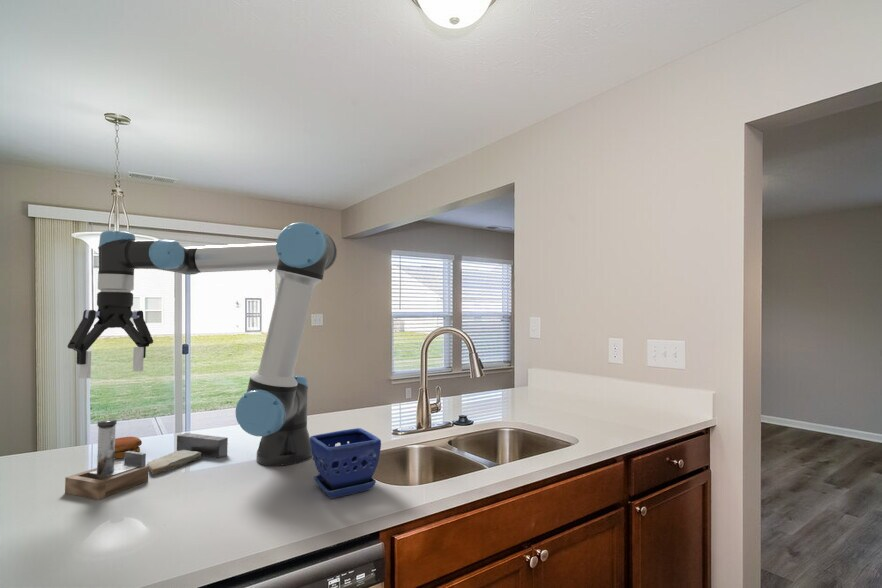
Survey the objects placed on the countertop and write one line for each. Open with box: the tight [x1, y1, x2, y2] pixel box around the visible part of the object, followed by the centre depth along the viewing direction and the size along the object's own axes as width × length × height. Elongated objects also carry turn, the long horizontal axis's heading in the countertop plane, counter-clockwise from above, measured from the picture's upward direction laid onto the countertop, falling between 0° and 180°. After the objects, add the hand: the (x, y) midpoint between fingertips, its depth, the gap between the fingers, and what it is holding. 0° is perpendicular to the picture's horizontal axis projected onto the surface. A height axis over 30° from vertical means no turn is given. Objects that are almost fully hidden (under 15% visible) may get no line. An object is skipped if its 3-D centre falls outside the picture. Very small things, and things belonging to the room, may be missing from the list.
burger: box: [114, 436, 143, 460], centre depth 129 cm, size 10×9×5 cm
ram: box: [88, 419, 147, 480], centre depth 107 cm, size 7×9×14 cm
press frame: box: [64, 461, 150, 501], centre depth 105 cm, size 11×12×4 cm
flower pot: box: [310, 427, 382, 499], centre depth 104 cm, size 13×13×12 cm
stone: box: [146, 450, 202, 476], centre depth 120 cm, size 15×11×3 cm
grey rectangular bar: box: [176, 432, 229, 459], centre depth 129 cm, size 16×3×5 cm, turn 71°
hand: (112, 374), depth 114 cm, fingers open, 13 cm apart
